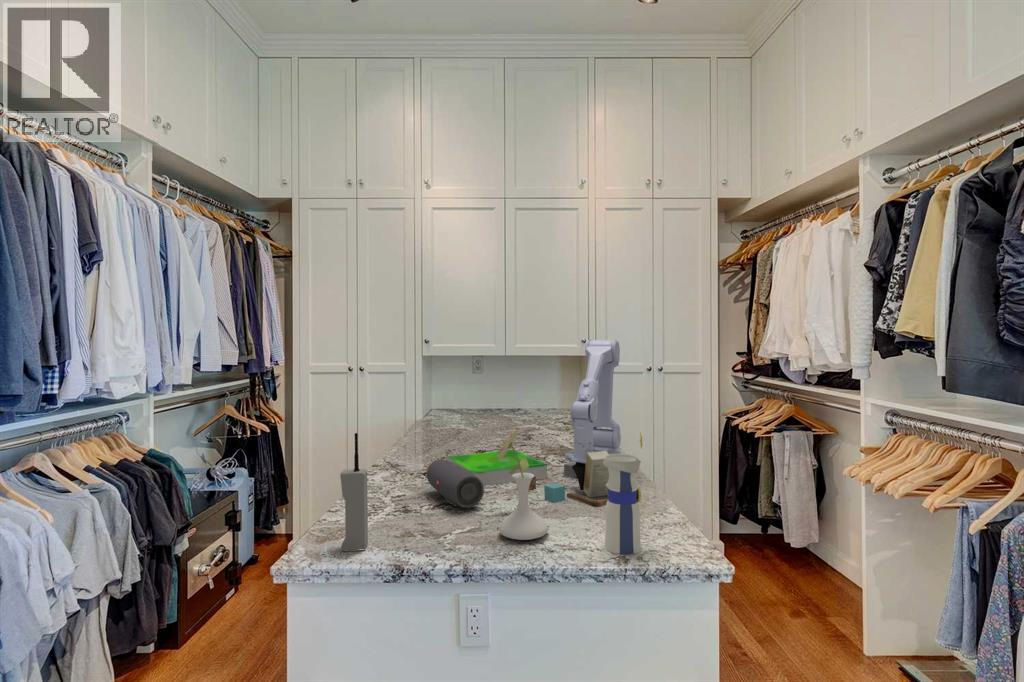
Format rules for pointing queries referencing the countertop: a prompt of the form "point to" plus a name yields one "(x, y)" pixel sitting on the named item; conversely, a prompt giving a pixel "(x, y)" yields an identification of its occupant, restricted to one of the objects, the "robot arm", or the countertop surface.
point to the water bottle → (623, 504)
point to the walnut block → (532, 483)
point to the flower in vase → (521, 502)
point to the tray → (498, 466)
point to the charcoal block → (569, 470)
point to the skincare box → (596, 474)
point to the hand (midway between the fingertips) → (583, 489)
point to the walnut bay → (588, 500)
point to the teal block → (554, 492)
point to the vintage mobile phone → (355, 505)
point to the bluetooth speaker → (455, 483)
